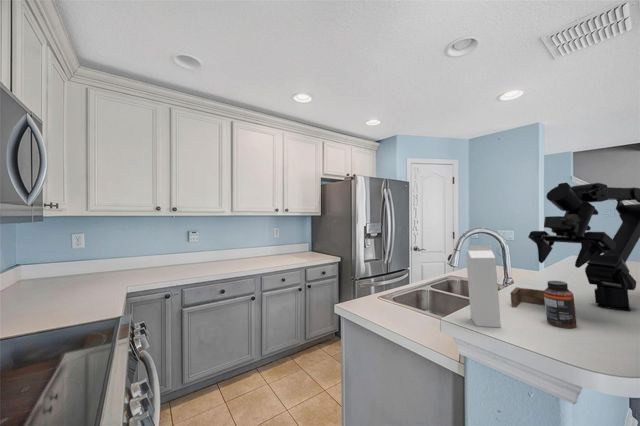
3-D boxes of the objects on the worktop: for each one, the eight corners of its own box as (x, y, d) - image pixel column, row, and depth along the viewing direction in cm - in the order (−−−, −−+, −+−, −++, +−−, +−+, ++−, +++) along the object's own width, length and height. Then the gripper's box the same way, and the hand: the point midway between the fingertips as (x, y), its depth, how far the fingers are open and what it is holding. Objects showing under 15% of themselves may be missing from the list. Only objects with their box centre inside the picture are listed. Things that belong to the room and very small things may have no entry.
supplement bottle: (563, 319, 72) (560, 279, 72) (583, 328, 66) (579, 284, 66) (540, 320, 72) (537, 279, 73) (558, 329, 66) (554, 285, 67)
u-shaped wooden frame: (555, 305, 82) (554, 291, 82) (552, 313, 76) (550, 298, 77) (517, 300, 90) (516, 287, 90) (511, 306, 84) (510, 292, 84)
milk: (470, 318, 76) (464, 244, 77) (494, 319, 74) (487, 243, 75) (476, 326, 70) (469, 246, 72) (501, 328, 69) (494, 245, 70)
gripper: (526, 207, 85) (507, 247, 82) (599, 201, 67) (579, 253, 64) (548, 225, 87) (530, 265, 84) (625, 225, 69) (606, 275, 66)
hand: (557, 264), depth 74 cm, fingers open, 9 cm apart
